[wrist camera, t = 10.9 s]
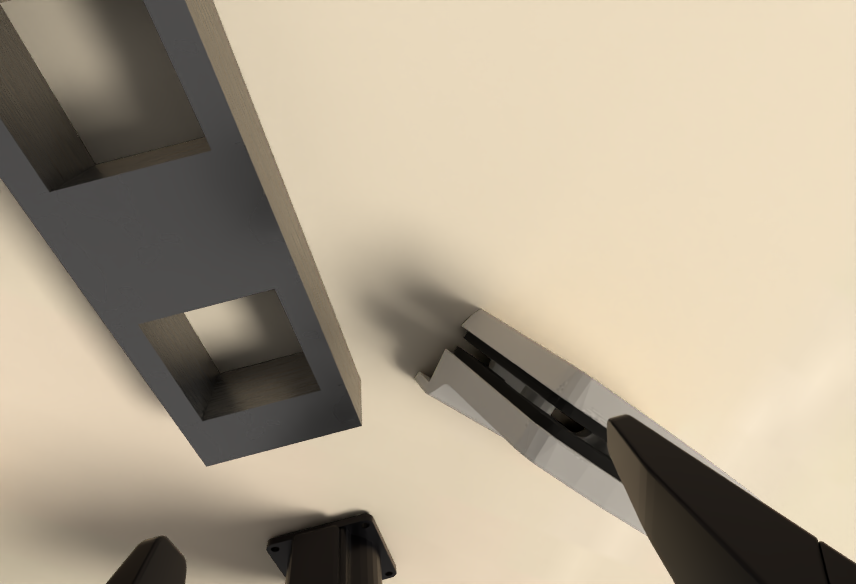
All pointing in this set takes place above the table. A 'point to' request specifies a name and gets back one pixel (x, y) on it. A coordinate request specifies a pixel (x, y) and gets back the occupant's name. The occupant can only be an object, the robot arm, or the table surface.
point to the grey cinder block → (184, 244)
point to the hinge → (542, 410)
